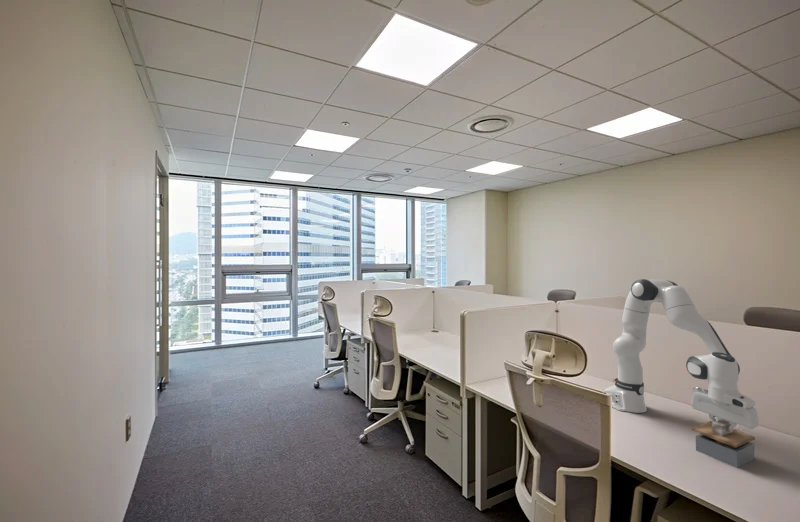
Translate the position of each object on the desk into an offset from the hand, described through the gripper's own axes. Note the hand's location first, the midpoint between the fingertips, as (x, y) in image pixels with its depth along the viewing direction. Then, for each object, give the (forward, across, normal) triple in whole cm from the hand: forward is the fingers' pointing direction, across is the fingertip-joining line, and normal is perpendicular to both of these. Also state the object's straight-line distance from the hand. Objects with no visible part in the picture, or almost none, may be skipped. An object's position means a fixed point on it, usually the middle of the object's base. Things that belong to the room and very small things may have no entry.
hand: (722, 429), depth 138 cm
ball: (+10, -2, +3) cm, 11 cm away
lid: (+2, 0, 0) cm, 2 cm away
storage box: (+11, +1, 0) cm, 11 cm away
